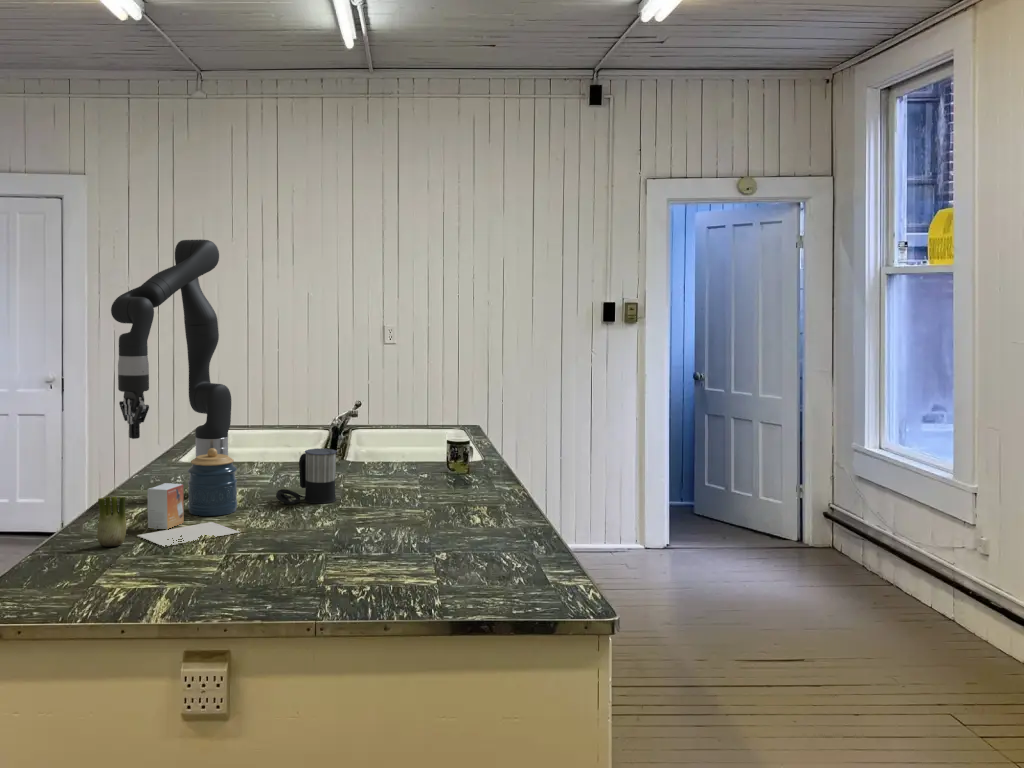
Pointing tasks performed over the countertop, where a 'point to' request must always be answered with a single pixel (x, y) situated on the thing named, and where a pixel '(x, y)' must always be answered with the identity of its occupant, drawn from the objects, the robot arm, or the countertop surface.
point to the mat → (187, 533)
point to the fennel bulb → (111, 522)
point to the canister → (212, 485)
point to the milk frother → (314, 477)
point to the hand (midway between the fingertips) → (134, 438)
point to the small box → (165, 506)
